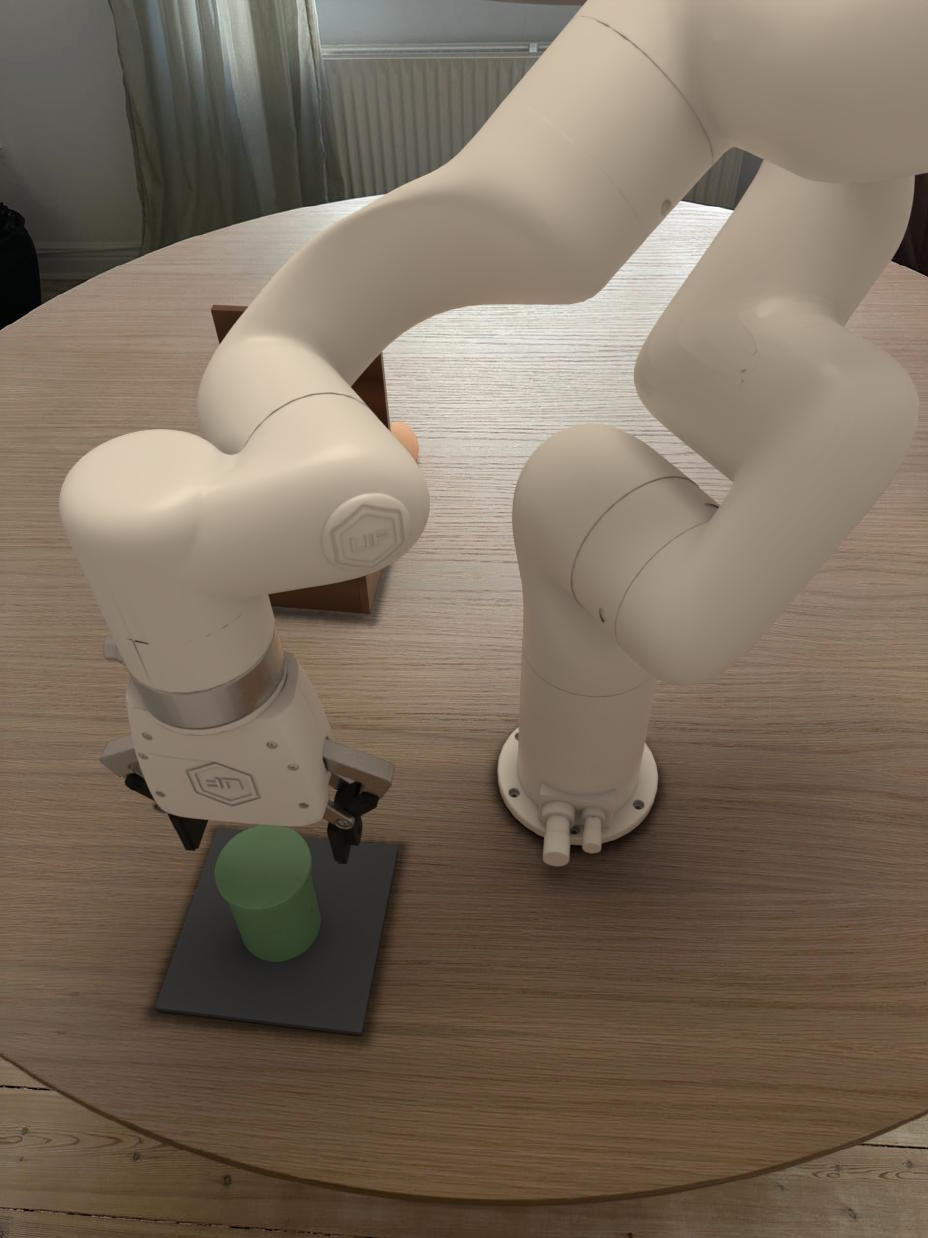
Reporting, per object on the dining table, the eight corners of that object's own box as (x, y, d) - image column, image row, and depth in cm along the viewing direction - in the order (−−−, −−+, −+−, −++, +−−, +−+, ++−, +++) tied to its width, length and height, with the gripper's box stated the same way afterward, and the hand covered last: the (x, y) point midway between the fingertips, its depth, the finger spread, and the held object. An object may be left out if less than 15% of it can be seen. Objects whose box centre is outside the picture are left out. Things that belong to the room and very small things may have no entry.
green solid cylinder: (313, 971, 67) (297, 914, 61) (225, 961, 67) (201, 903, 62) (333, 889, 71) (320, 828, 65) (250, 880, 72) (230, 819, 66)
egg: (392, 485, 105) (388, 441, 101) (371, 464, 108) (367, 421, 104) (427, 471, 107) (425, 427, 103) (406, 451, 110) (403, 407, 106)
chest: (370, 619, 91) (363, 557, 86) (218, 607, 93) (201, 545, 87) (397, 519, 101) (392, 457, 96) (260, 510, 103) (247, 448, 97)
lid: (376, 317, 83) (386, 286, 86) (210, 309, 85) (225, 279, 88) (391, 456, 95) (399, 424, 98) (245, 447, 97) (257, 416, 100)
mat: (362, 1036, 64) (361, 1033, 64) (156, 1011, 66) (154, 1008, 65) (398, 849, 74) (398, 846, 74) (218, 831, 75) (217, 827, 75)
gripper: (17, 706, 48) (121, 878, 61) (360, 730, 46) (396, 904, 59) (76, 598, 54) (162, 777, 66) (388, 616, 51) (415, 797, 64)
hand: (272, 837), depth 62 cm, fingers open, 9 cm apart
